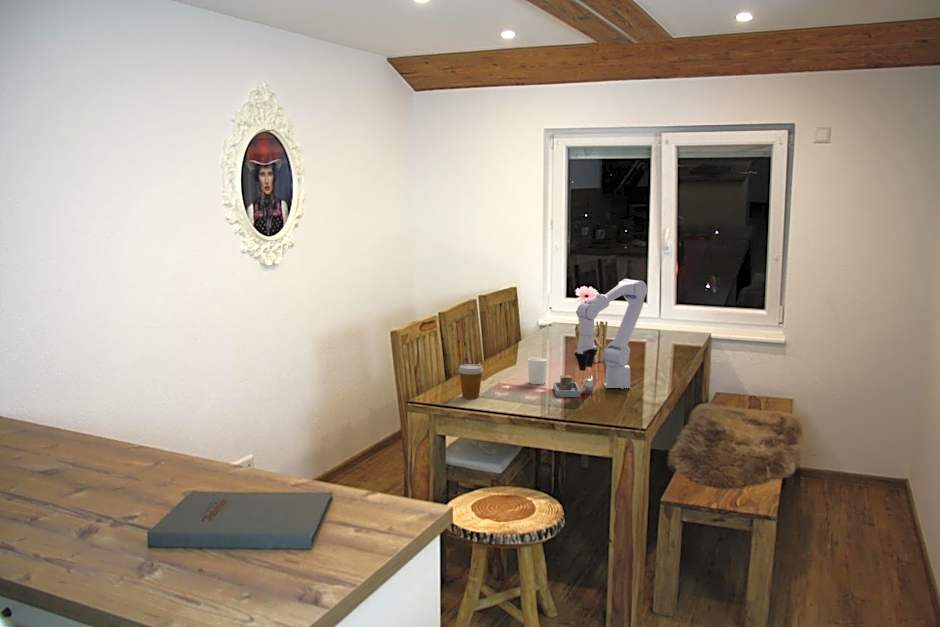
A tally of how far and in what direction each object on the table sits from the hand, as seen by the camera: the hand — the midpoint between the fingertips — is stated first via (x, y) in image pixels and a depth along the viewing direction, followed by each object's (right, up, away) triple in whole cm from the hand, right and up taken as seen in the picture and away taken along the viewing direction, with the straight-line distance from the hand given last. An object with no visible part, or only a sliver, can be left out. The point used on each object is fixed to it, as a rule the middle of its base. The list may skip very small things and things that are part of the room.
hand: (585, 368), depth 311 cm
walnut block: (-8, -8, +3) cm, 12 cm away
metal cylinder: (+1, -9, +1) cm, 9 cm away
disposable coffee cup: (-45, -11, -7) cm, 47 cm away
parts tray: (-8, -9, 0) cm, 12 cm away
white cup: (-18, -7, +16) cm, 25 cm away
